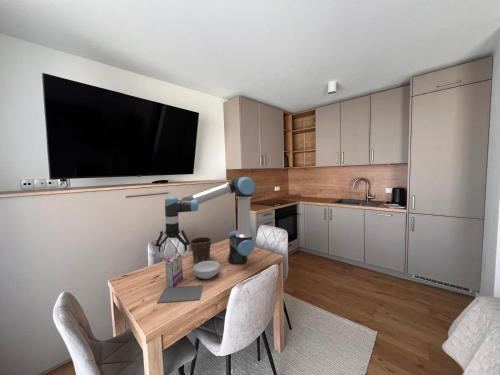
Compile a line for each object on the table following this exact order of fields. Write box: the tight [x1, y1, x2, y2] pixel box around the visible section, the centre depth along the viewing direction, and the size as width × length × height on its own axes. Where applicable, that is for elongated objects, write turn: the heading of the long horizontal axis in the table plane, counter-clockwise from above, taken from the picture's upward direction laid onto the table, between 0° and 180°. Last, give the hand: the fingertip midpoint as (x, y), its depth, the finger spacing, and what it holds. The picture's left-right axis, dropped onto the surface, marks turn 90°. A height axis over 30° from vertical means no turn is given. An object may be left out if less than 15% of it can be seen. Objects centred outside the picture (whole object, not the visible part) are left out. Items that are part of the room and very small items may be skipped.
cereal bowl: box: [193, 260, 220, 280], centre depth 135 cm, size 17×17×7 cm
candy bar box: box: [164, 253, 184, 287], centre depth 127 cm, size 11×5×16 cm, turn 168°
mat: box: [156, 284, 204, 304], centre depth 115 cm, size 22×14×1 cm, turn 96°
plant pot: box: [189, 236, 212, 264], centre depth 159 cm, size 16×16×16 cm
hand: (173, 256), depth 126 cm, fingers open, 13 cm apart
